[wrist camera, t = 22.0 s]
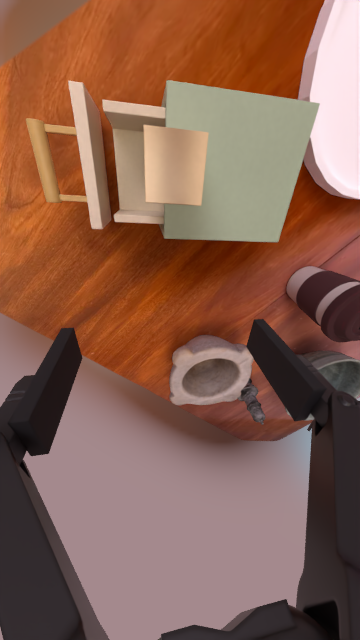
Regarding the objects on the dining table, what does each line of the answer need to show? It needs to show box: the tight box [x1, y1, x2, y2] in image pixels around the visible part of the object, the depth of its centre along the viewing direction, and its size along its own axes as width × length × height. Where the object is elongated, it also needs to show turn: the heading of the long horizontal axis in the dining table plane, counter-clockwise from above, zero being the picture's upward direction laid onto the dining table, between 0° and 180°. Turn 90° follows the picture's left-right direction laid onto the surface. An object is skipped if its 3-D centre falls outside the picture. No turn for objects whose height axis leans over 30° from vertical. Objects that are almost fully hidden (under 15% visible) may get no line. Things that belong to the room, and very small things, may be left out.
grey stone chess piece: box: [238, 378, 265, 425], centre depth 52 cm, size 6×6×12 cm
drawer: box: [26, 81, 165, 229], centre depth 24 cm, size 19×12×8 cm, turn 87°
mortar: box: [169, 335, 254, 405], centre depth 45 cm, size 17×17×9 cm
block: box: [143, 125, 209, 206], centre depth 19 cm, size 5×5×5 cm
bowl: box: [285, 351, 360, 420], centre depth 52 cm, size 21×21×10 cm
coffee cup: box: [287, 266, 360, 342], centre depth 36 cm, size 10×10×15 cm
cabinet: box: [159, 80, 320, 242], centre depth 26 cm, size 15×13×10 cm
